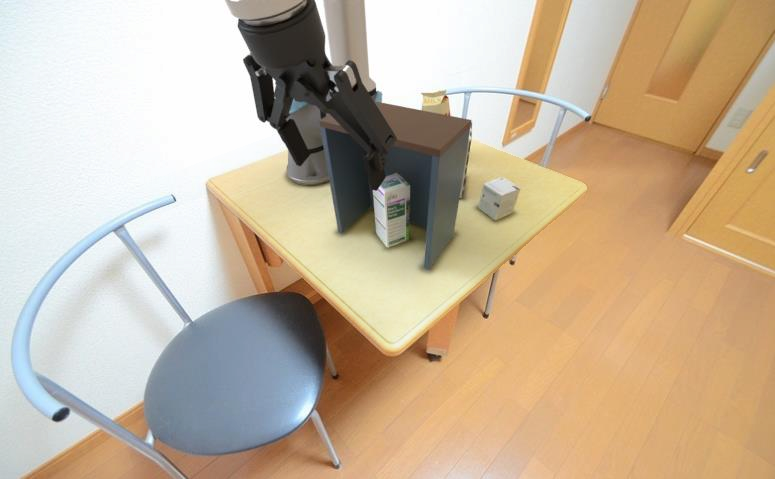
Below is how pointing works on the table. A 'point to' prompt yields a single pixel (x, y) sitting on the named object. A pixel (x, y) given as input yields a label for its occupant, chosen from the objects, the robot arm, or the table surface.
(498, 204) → the product carton
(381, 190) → the syrup box
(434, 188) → the cupboard
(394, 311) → the table surface
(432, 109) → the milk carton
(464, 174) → the candy bar box
